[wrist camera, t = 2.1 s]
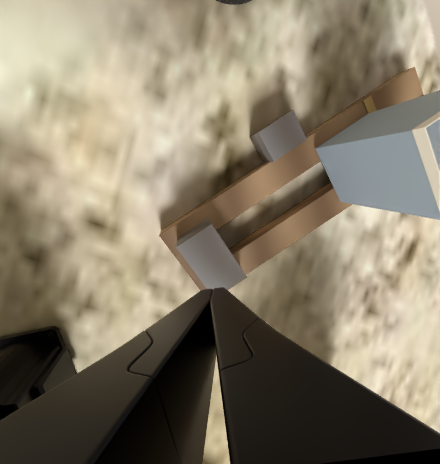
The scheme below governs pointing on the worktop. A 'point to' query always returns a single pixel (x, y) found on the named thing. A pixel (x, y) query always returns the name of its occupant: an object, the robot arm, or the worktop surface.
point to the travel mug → (233, 1)
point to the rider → (389, 158)
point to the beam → (265, 183)
